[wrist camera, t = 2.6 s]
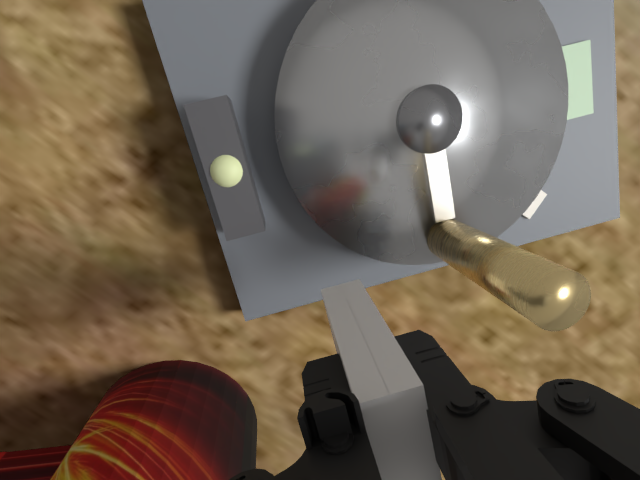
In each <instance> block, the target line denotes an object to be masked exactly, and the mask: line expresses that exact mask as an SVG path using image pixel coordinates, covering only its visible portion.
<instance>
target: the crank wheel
mask: <svg viewBox="0 0 640 480" xmlns="http://www.w3.org/2000/svg"><path fill="white" fill-rule="evenodd" d="M567 113H568V77H567V69H566V62H565V58H564V54H563V50H562V46H561V43H560V40H559V38H558V35H557V33H556V30H555V27H554V25H553V23H552V21H551V20H550V18H549V16H548V14H547V12H546V10H545V9H544V7H543V6H542V4H541V3H540V2H539V0H316V1H315V2H314V4H313V5H312V6H311V7H310V8H309V10H308V11H307V13H306V14H305V16H304V18H303V19H302V21H301V22H300V24H299V25H298V27H297V29H296V31H295V33H294V35H293V37H292V39H291V41H290V44H289V46H288V48H287V50H286V54H285V57H284V60H283V63H282V66H281V69H280V73H279V79H278V84H277V89H276V95H275V109H274V123H275V137H276V142H277V147H278V152H279V157H280V160H281V163H282V166H283V169H284V172H285V175H286V177H287V179H288V181H289V183H290V185H291V187H292V189H293V192H294V194H295V195H296V197H297V198H298V200H299V201H300V203H301V205H302V206H303V208H304V209H305V211H306V212H307V213H308V214H309V215H310V217H311V218H312V219H313V220H314V221H315V222H316V223H317V225H318V226H319V227H321V228H322V229H323V230H324V231H325V232H326V233H327V234H328V235H330V236H331V237H332V238H333V239H335V240H336V241H338V242H339V243H341V244H342V245H344V246H345V247H347V248H349V249H351V250H353V251H355V252H357V253H359V254H361V255H363V256H366V257H369V258H372V259H375V260H378V261H382V262H387V263H393V264H400V265H424V264H434V263H439V262H443V261H444V262H446V263H447V264H449V265H450V266H452V267H453V268H455V269H456V270H458V271H459V272H460V273H462V274H463V275H465V276H466V277H468V278H469V279H471V280H472V281H473V282H475V283H476V284H478V285H479V286H481V287H482V288H484V289H485V290H487V291H488V292H489V293H491V294H492V295H494V296H495V297H497V298H498V299H500V300H501V301H503V302H504V303H505V304H507V305H508V306H510V307H511V308H513V309H514V310H516V311H517V312H518V313H520V314H521V315H523V316H524V317H526V318H527V319H529V320H530V321H532V322H533V323H534V324H536V325H537V326H539V327H540V328H542V329H544V330H547V331H560V330H564V329H567V328H569V327H571V326H572V325H574V324H575V323H576V322H578V321H579V320H580V319H581V318H582V316H583V315H584V314H585V312H586V310H587V308H588V306H589V303H590V298H591V290H590V286H589V283H588V281H587V280H586V278H585V277H584V276H583V275H581V274H580V273H578V272H576V271H574V270H571V269H569V268H567V267H564V266H562V265H560V264H557V263H555V262H552V261H550V260H548V259H545V258H543V257H541V256H538V255H536V254H534V253H531V252H529V251H527V250H524V249H522V248H520V247H517V246H515V245H513V244H510V243H508V242H506V241H503V240H501V239H499V238H497V237H498V236H499V235H501V234H502V233H503V232H504V231H505V230H507V229H508V228H509V227H510V226H512V225H513V224H514V223H515V222H516V221H517V220H518V219H519V218H520V216H521V215H522V214H523V213H524V212H525V211H526V210H527V209H528V207H529V206H530V205H531V204H532V202H533V201H534V200H535V198H536V197H537V196H538V194H539V192H540V191H541V189H542V188H543V186H544V184H545V183H546V181H547V179H548V177H549V175H550V173H551V171H552V169H553V167H554V164H555V162H556V159H557V156H558V154H559V151H560V148H561V145H562V141H563V137H564V132H565V128H566V122H567Z"/></svg>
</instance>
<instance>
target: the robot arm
mask: <svg viewBox="0 0 640 480" xmlns="http://www.w3.org/2000/svg"><path fill="white" fill-rule="evenodd" d="M321 293H322V297H323V301H324V305H325V308H326V312H327V316H328V320H329V324H330V328H331V332H332V336H333V340H334V343H335V347H336V351H337V354H335V355H331V356H327V357H324V358H320V359H317V360H313V361H309V362H307V364H306V366H305V368H304V370H303V372H302V379H303V386H304V396H305V401H304V403H303V404H302V406H301V407H300V409H299V412H298V418H297V419H298V422H299V425H300V429H301V432H302V435H303V438H304V442H305V445H306V450H305V451H304V453H303V455H302V456H301V457H300V458H299V459H298V460H297V461H296V462H295V463H294V464H293V465H291V466H290V467H289V468H287V469H286V470H284V471H282V472H281V473H279V474H277V475H276V476H273V475H272V474H271V473H269V472H268V471H266V470H263V469H251V470H247V471H243V472H241V473H239V474H237V475H235V476H234V477H232V478H230V479H229V480H442V479H441V473H440V469H441V471H442V473H443V475H444V477H445V479H446V480H640V409H638V408H636V407H635V406H633V405H631V404H629V403H627V402H625V401H623V400H621V399H620V398H618V397H616V396H614V395H612V394H610V393H608V392H606V391H605V390H603V389H601V388H599V387H597V386H594V385H592V384H589V383H587V382H584V381H579V380H573V379H556V380H553V381H549V382H546V383H544V384H543V385H542V386H541V387H540V388H539V389H538V392H537V396H536V399H537V401H501V400H496V399H495V398H494V396H493V395H491V394H490V393H489V392H488V391H486V390H485V389H483V388H480V387H477V386H475V385H471V384H470V383H469V382H468V381H467V379H466V378H465V377H464V376H463V374H462V373H461V372H460V371H459V369H458V368H457V367H456V366H455V364H454V363H453V362H452V361H451V359H450V358H449V357H448V356H447V355H446V353H445V352H444V350H443V349H442V348H440V345H439V344H438V343H437V342H436V340H435V339H434V338H433V337H432V336H431V335H429V334H426V333H424V332H422V331H420V330H417V331H413V332H409V333H406V334H402V335H399V336H395V337H394V336H393V334H392V332H391V331H390V329H389V327H388V326H387V324H386V322H385V321H384V319H383V317H382V316H381V314H380V312H379V311H378V309H377V308H376V306H375V304H374V303H373V301H372V299H371V298H370V296H369V294H368V293H367V291H366V289H365V288H364V286H363V284H362V283H361V281H360V279H358V280H354V281H351V282H347V283H343V284H339V285H336V286H332V287H328V288H325V289H321ZM439 467H440V468H439Z"/></svg>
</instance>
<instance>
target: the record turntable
mask: <svg viewBox="0 0 640 480" xmlns="http://www.w3.org/2000/svg"><path fill="white" fill-rule="evenodd" d="M142 1H143V4H144V7H145V10H146V14H147V17H148V20H149V23H150V26H151V29H152V32H153V35H154V38H155V42H156V45H157V48H158V51H159V54H160V57H161V60H162V63H163V66H164V70H165V73H166V76H167V79H168V82H169V85H170V88H171V91H172V94H173V97H174V101H175V104H176V107H177V110H178V113H179V116H180V119H181V122H182V125H183V129H184V132H185V135H186V138H187V141H188V144H189V147H190V150H191V153H192V157H193V160H194V163H195V166H196V169H197V172H198V175H199V178H200V181H201V184H202V188H203V191H204V194H205V197H206V200H207V203H208V206H209V209H210V212H211V216H212V219H213V222H214V225H215V228H216V231H217V234H218V237H219V240H220V244H221V247H222V250H223V253H224V256H225V259H226V262H227V265H228V268H229V272H230V275H231V278H232V281H233V284H234V287H235V290H236V293H237V296H238V299H239V303H240V306H241V309H242V312H243V315H244V318H245V321H248V320H252V319H255V318H259V317H262V316H266V315H270V314H273V313H277V312H280V311H284V310H288V309H291V308H295V307H299V306H302V305H306V304H309V303H313V302H317V301H320V300H323V297H322V293H321V289H325V288H328V287H332V286H336V285H339V284H343V283H347V282H351V281H354V280H358V279H360V281H361V283H362V284H363V286H364V288H367V287H371V286H374V285H378V284H382V283H385V282H389V281H393V280H396V279H400V278H403V277H407V276H411V275H414V274H418V273H421V272H425V271H429V270H432V269H436V268H440V267H443V266H447V265H449V264H447V263H446V262H444V261H443V262H439V263H434V264H424V265H400V264H393V263H387V262H382V261H378V260H375V259H372V258H369V257H366V256H363V255H361V254H359V253H357V252H355V251H353V250H351V249H349V248H347V247H345V246H344V245H342V244H341V243H339V242H338V241H336V240H335V239H333V238H332V237H331V236H330V235H328V234H327V233H326V232H325V231H324V230H323V229H322V228H321V227H319V226H318V225H317V223H316V222H315V221H314V220H313V219H312V218H311V217H310V215H309V214H308V213H307V212H306V211H305V209H304V208H303V206H302V205H301V203H300V201H299V200H298V198H297V197H296V195H295V194H294V192H293V189H292V187H291V185H290V183H289V181H288V179H287V177H286V175H285V172H284V169H283V166H282V163H281V160H280V157H279V152H278V147H277V142H276V137H275V123H274V109H275V95H276V89H277V84H278V79H279V73H280V69H281V66H282V63H283V60H284V57H285V54H286V50H287V48H288V46H289V44H290V41H291V39H292V37H293V35H294V33H295V31H296V29H297V27H298V25H299V24H300V22H301V21H302V19H303V18H304V16H305V14H306V13H307V11H308V10H309V8H310V7H311V6H312V5H313V4H314V2H315V1H316V0H142ZM539 2H540V3H541V4H542V6H543V7H544V9H545V10H546V12H547V14H548V16H549V18H550V20H551V21H552V23H553V25H554V27H555V30H556V33H557V35H558V38H559V40H560V43H561V46H562V50H563V54H564V58H565V62H566V69H567V77H568V113H567V122H566V128H565V132H564V137H563V141H562V145H561V148H560V151H559V154H558V156H557V159H556V162H555V164H554V167H553V169H552V171H551V173H550V175H549V177H548V179H547V181H546V183H545V184H544V186H543V188H542V189H541V191H540V192H539V194H538V196H537V197H536V198H535V200H534V201H533V202H532V204H531V205H530V206H529V207H528V209H527V210H526V211H525V212H524V213H523V214H522V215H521V216H520V218H519V219H518V220H517V221H516V222H515V223H514V224H513V225H512V226H510V227H509V228H508V229H507V230H505V231H504V232H503V233H502V234H501V235H499V236H498V237H497V238H499V239H501V240H503V241H506V242H508V243H510V244H513V245H515V246H519V245H523V244H526V243H530V242H533V241H537V240H541V239H544V238H548V237H552V236H555V235H559V234H562V233H566V232H570V231H573V230H577V229H580V228H584V227H588V226H591V225H595V224H599V223H602V222H606V221H609V220H613V219H617V218H620V206H619V171H618V136H617V100H616V65H615V30H614V0H539Z"/></svg>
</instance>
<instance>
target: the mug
mask: <svg viewBox="0 0 640 480" xmlns="http://www.w3.org/2000/svg"><path fill="white" fill-rule="evenodd" d="M256 445H257V418H256V414H255V410H254V406H253V404H252V402H251V400H250V398H249V396H248V395H247V393H246V392H245V391H244V390H243V388H242V387H241V386H240V385H239V384H238V383H237V382H236V381H235V380H233V379H232V378H231V377H230V376H228V375H227V374H225V373H223V372H221V371H219V370H218V369H216V368H214V367H211V366H208V365H204V364H201V363H198V362H191V361H183V360H176V361H162V362H157V363H152V364H148V365H145V366H143V367H140V368H138V369H135V370H133V371H131V372H130V373H128V374H127V375H125V376H124V377H122V378H120V379H119V380H118V381H117V382H116V383H115V384H114V385H113V386H112V387H111V388H110V389H109V390H108V391H107V392H106V394H105V395H104V397H103V398H102V400H101V401H100V403H99V404H98V406H97V407H96V409H95V410H94V412H93V414H92V415H91V417H90V418H89V420H88V421H87V423H86V425H85V426H84V428H83V429H82V431H81V432H80V434H79V435H78V437H77V439H76V440H75V442H74V443H73V445H68V446H59V447H50V448H41V449H31V450H22V451H13V452H0V480H229V479H230V478H232V477H234V476H235V475H237V474H239V473H241V472H243V471H247V470H251V469H256Z"/></svg>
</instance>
